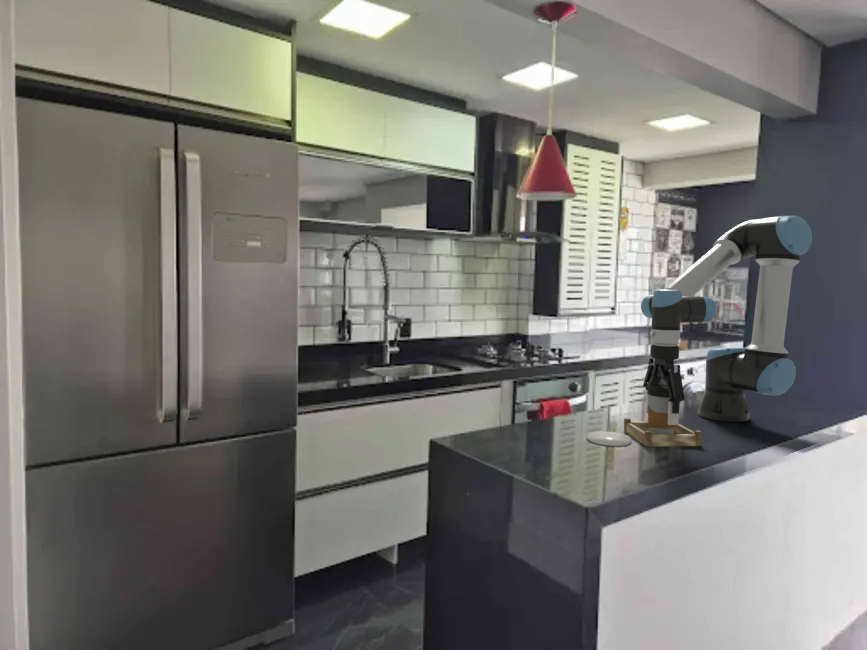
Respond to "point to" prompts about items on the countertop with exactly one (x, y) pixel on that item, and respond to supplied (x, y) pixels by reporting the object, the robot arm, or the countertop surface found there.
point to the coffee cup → (658, 410)
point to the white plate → (609, 438)
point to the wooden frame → (645, 436)
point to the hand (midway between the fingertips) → (661, 418)
